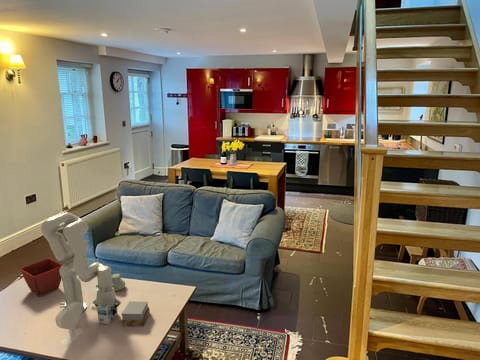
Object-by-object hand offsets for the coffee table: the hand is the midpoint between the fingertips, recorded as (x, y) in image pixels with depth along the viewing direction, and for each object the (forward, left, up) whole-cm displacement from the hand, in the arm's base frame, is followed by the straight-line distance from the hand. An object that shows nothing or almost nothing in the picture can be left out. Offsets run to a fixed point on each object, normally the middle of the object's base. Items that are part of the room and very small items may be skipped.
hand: (107, 313), depth 210 cm
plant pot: (-55, +30, -3) cm, 63 cm away
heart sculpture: (-14, -16, -3) cm, 21 cm away
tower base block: (+17, 0, -4) cm, 17 cm away
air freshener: (-7, +32, -3) cm, 33 cm away
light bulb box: (0, 0, -3) cm, 3 cm away
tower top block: (+16, 0, +1) cm, 16 cm away
